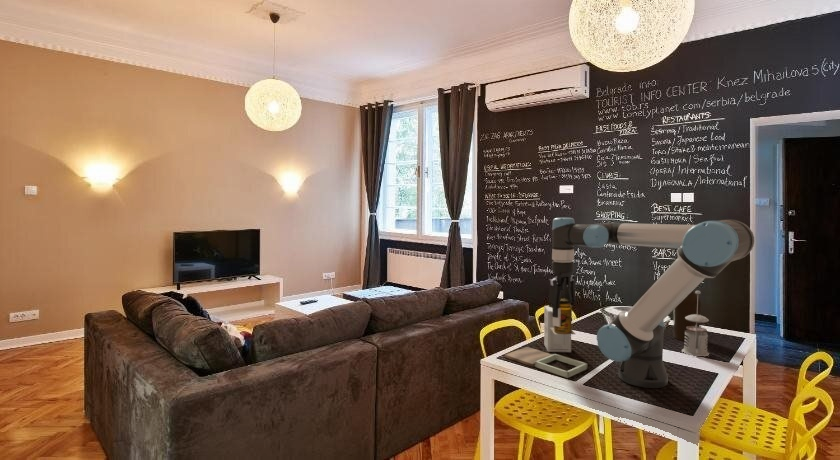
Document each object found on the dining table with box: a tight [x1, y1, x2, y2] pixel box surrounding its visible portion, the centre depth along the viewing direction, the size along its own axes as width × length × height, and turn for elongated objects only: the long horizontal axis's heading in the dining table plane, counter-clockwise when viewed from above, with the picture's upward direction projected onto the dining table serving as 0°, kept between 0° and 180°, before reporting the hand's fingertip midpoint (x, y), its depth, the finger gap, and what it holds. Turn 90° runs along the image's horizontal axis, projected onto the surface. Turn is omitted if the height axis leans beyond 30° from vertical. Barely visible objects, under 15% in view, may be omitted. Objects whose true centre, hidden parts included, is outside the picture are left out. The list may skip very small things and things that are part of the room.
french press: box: [681, 290, 710, 357], centre depth 180 cm, size 10×12×25 cm
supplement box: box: [543, 305, 572, 353], centre depth 188 cm, size 10×9×17 cm
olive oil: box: [672, 290, 703, 342], centre depth 199 cm, size 11×11×25 cm
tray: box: [534, 353, 588, 379], centre depth 168 cm, size 14×13×2 cm
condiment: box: [550, 297, 576, 335], centre depth 167 cm, size 7×8×12 cm
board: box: [504, 346, 553, 367], centre depth 178 cm, size 13×14×1 cm
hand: (562, 323), depth 166 cm, fingers closed on condiment, 6 cm apart
